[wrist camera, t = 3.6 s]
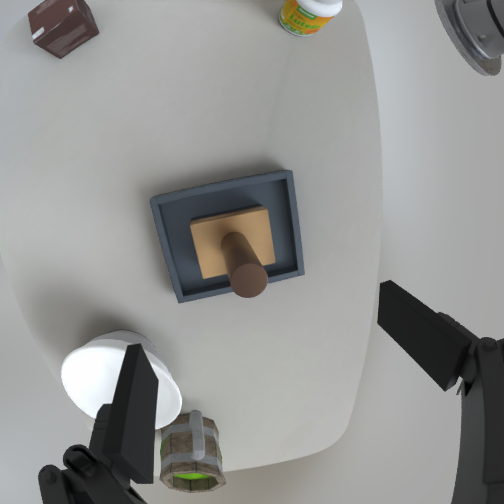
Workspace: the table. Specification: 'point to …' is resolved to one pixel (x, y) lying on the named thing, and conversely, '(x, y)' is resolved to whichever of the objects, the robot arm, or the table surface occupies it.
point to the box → (61, 25)
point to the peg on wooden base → (235, 247)
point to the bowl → (115, 374)
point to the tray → (222, 199)
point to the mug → (191, 454)
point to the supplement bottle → (307, 15)
